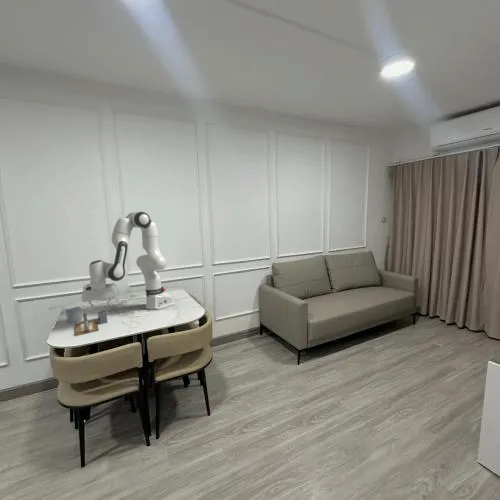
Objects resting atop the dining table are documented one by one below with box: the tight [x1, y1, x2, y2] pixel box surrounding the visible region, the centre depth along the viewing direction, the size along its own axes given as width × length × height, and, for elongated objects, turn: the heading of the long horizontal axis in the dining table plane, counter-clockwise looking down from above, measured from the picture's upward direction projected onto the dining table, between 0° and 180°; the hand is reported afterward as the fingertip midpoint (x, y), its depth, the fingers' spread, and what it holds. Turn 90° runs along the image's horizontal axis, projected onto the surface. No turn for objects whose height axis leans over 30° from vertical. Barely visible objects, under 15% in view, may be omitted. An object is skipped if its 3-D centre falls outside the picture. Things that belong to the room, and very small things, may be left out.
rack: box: [74, 312, 99, 337], centre depth 177 cm, size 12×19×7 cm, turn 32°
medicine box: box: [65, 306, 83, 324], centre depth 190 cm, size 8×4×9 cm, turn 141°
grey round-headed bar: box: [97, 310, 108, 325], centre depth 189 cm, size 5×12×5 cm, turn 33°
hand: (100, 305), depth 186 cm, fingers open, 8 cm apart
